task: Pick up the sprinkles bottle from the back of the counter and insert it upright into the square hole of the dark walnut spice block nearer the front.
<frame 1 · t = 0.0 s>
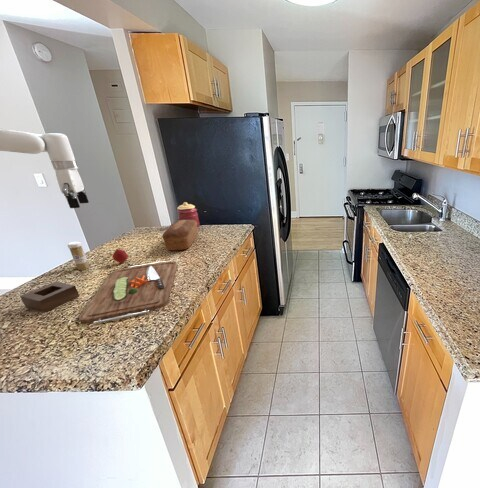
hand: (80, 205, 115), 31 cm above the countertop, tool pointing down, fingers open, 9 cm apart
bread: (184, 243, 157), on the countertop
sprinkles bottle: (84, 268, 126), on the countertop
chopping board: (137, 287, 109), on the countertop
red rounded lump: (122, 263, 132), on the countertop
spice block: (53, 301, 100), on the countertop
kitchen canister: (190, 226, 186), on the countertop
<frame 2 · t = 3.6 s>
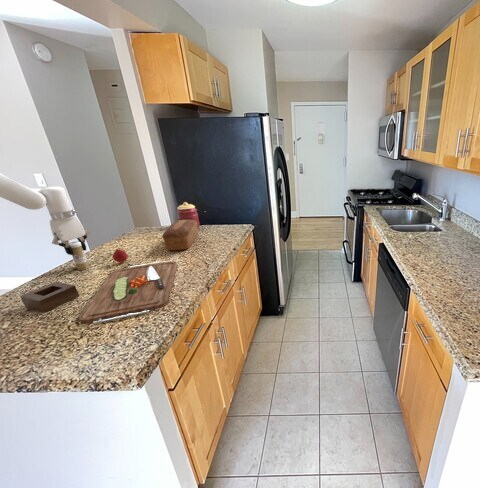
hand: (77, 251, 123), 9 cm above the countertop, tool pointing down, fingers closed on sprinkles bottle, 4 cm apart
sprinkles bottle: (84, 268, 126), on the countertop, touching gripper
everything else where it was.
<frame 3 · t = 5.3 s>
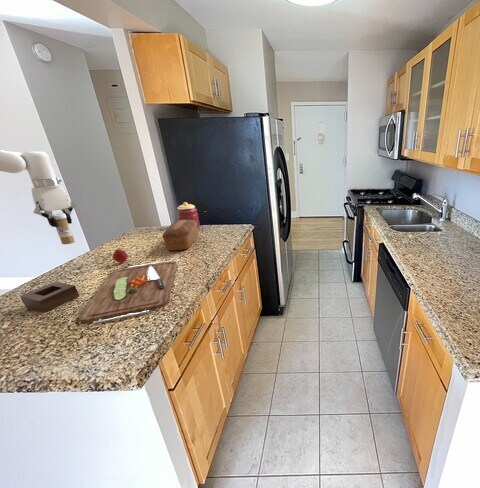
hand: (61, 224, 115), 23 cm above the countertop, tool pointing down, fingers closed on sprinkles bottle, 4 cm apart
sprinkles bottle: (69, 243, 118), point 14 cm above the countertop, touching gripper
everything else where it was.
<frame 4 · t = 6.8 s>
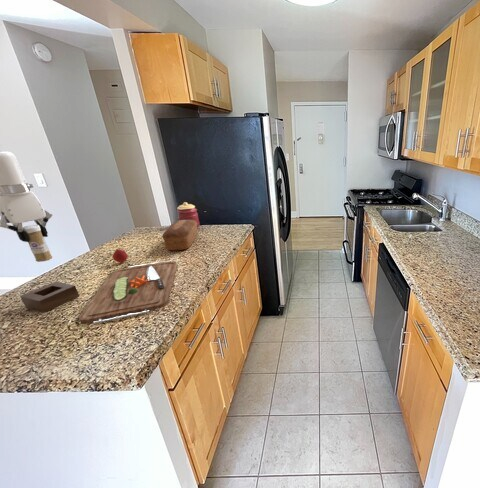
hand: (35, 238, 96), 24 cm above the countertop, tool pointing down, fingers closed on sprinkles bottle, 4 cm apart
sprinkles bottle: (45, 260, 100), point 15 cm above the countertop, touching gripper
everything else where it was.
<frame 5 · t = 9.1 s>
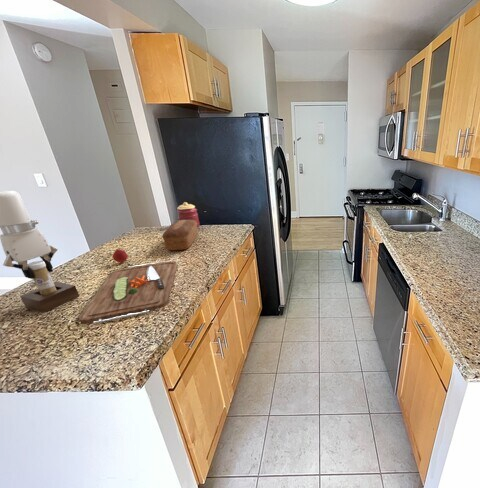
hand: (40, 274, 96), 12 cm above the countertop, tool pointing down, fingers closed on sprinkles bottle, 4 cm apart
sprinkles bottle: (50, 294, 99), point 3 cm above the countertop, touching gripper
everything else where it was.
when the fingers open (9 cm above the countertop, at t = 10.5 s): sprinkles bottle stays where it is, resting in spice block.
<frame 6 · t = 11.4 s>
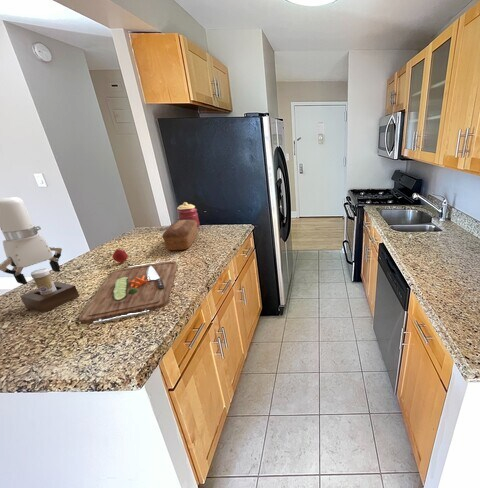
hand: (40, 277, 96), 11 cm above the countertop, tool pointing down, fingers open, 9 cm apart
sprinkles bottle: (53, 302, 100), resting in spice block
everything else where it was.
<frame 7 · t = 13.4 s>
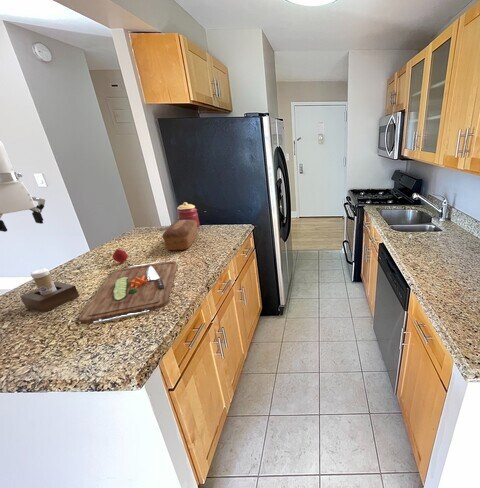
hand: (22, 226, 93), 29 cm above the countertop, tool pointing down, fingers open, 9 cm apart
nothing on the countertop moved.
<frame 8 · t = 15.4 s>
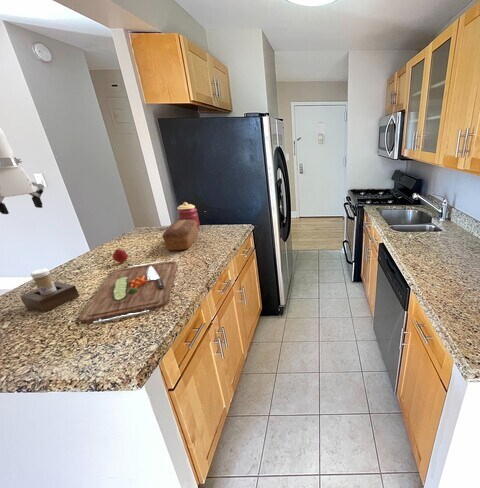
hand: (23, 210, 98), 33 cm above the countertop, tool pointing down, fingers open, 9 cm apart
nothing on the countertop moved.
at the end: sprinkles bottle 0.1 cm off-centre in the spice block, point 0.0 cm above the spice block's base; sprinkles bottle tilted 0°; the gripper is holding nothing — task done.
